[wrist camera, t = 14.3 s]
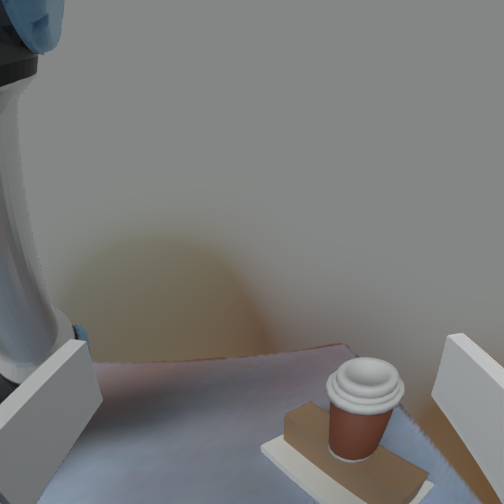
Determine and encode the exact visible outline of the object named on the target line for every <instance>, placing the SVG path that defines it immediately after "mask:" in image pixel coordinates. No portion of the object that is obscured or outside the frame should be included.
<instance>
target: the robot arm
mask: <svg viewBox="0 0 504 504" xmlns="http://www.w3.org/2000/svg"><path fill="white" fill-rule="evenodd" d="M63 11H64V0H0V502H1V504H37V502H38V500H39V499H40V497H41V496H42V494H43V492H44V491H45V489H46V487H47V486H48V484H49V483H50V481H51V479H52V478H53V476H54V475H55V473H56V472H57V470H58V468H59V467H60V465H61V464H62V462H63V461H64V459H65V457H66V456H67V454H68V453H69V451H70V450H71V448H72V447H73V445H74V443H75V442H76V440H77V439H78V437H79V436H80V434H81V433H82V431H83V430H84V428H85V427H86V425H87V424H88V422H89V421H90V419H91V418H92V416H93V415H94V413H95V412H96V410H97V409H98V407H99V406H100V404H101V403H102V401H103V398H102V395H101V392H100V389H99V385H98V382H97V379H96V375H95V372H94V368H93V365H92V361H91V354H90V348H89V341H88V335H87V331H86V329H85V328H84V327H83V326H77V325H71V323H70V321H69V320H68V318H67V317H66V316H65V315H64V314H63V313H62V312H61V311H60V310H58V309H56V308H55V307H53V306H52V303H51V300H50V297H49V294H48V290H47V287H46V284H45V280H44V277H43V273H42V270H41V266H40V262H39V258H38V254H37V250H36V246H35V242H34V237H33V233H32V228H31V223H30V218H29V213H28V207H27V201H26V195H25V189H24V182H23V174H22V166H21V156H20V144H19V129H18V100H19V98H20V97H21V95H22V94H23V93H24V91H25V90H26V89H27V88H28V86H29V85H30V84H31V83H32V82H33V80H34V79H35V78H36V75H37V63H38V54H41V55H44V53H45V52H49V51H51V50H53V49H54V48H55V47H56V46H57V44H58V42H59V39H60V35H61V25H62V18H63ZM431 396H432V397H433V399H434V400H435V401H436V403H437V404H438V406H439V407H440V408H441V410H442V411H443V413H444V414H445V415H446V417H447V418H448V420H449V421H450V423H451V424H452V426H453V427H454V429H455V430H456V432H457V433H458V435H459V436H460V438H461V439H462V440H463V442H464V443H465V445H466V447H467V448H468V450H469V451H470V453H471V454H472V456H473V457H474V459H475V460H476V462H477V463H478V465H479V466H480V468H481V470H482V471H483V472H484V474H485V476H486V477H487V479H488V481H489V482H490V484H491V486H492V487H493V489H494V490H495V492H496V494H497V495H498V497H499V499H500V500H501V502H502V504H504V368H503V367H502V366H500V365H499V364H498V363H497V362H496V361H494V359H492V358H491V357H490V356H489V355H488V354H487V353H486V352H484V351H483V350H482V349H481V348H480V347H479V346H477V345H476V344H475V343H474V342H473V341H472V340H471V339H469V338H468V337H467V336H466V335H464V334H463V333H459V334H453V335H447V339H446V343H445V347H444V351H443V355H442V359H441V363H440V367H439V370H438V374H437V377H436V381H435V384H434V387H433V391H432V394H431Z"/></svg>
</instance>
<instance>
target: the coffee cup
mask: <svg viewBox="0 0 504 504" xmlns="http://www.w3.org/2000/svg"><path fill="white" fill-rule="evenodd" d="M325 390H326V393H327V397H328V399H329V400H330V425H329V443H328V448H329V452H330V453H331V454H332V456H333V457H334V458H336V459H338V460H340V461H342V462H345V463H360V462H364V461H366V460H368V459H369V458H371V457H372V456H373V454H374V453H375V452H376V449H377V447H378V445H379V442H380V440H381V438H382V436H383V433H384V431H385V429H386V426H387V424H388V421H389V419H390V416H391V414H392V411H393V409H394V408H395V407H397V406H398V404H399V403H400V402H401V400H402V399H403V397H404V383H403V381H402V380H401V379H400V377H399V373H398V371H397V370H396V368H395V367H394V366H393V365H391V364H390V363H388V362H387V361H383V360H381V359H377V358H370V357H361V358H354V359H351V360H348V361H345V362H344V363H343V364H342V365H340V366H339V368H338V370H336V371H335V372H334V373H333V374H331V375H330V376H329V378H328V381H327V383H326V388H325Z"/></svg>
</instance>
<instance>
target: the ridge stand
mask: <svg viewBox="0 0 504 504" xmlns="http://www.w3.org/2000/svg"><path fill="white" fill-rule="evenodd" d="M329 425H330V414H329V413H327V412H326V411H324V410H323V409H321V408H320V407H318V406H317V405H315V404H314V403H312V402H311V401H310V402H309V403H307V404H305V405H303V406H301V407H299V408H297V409H295V410H293V411H291V412H289V413H287V414H285V421H284V434H283V435H281V436H279V437H277V438H275V439H273V440H271V441H268V442H266V443H264V444H262V445H261V452H262V453H263V454H264V455H265V456H267V457H268V458H269V459H270V460H271V461H272V462H273V463H274V464H275V465H276V466H277V467H278V468H279V469H280V470H282V471H283V472H284V473H285V474H286V475H287V476H288V477H289V478H290V479H292V480H293V481H294V482H295V483H296V484H297V485H298V486H300V487H301V488H302V489H303V490H304V491H305V492H307V493H308V494H309V495H310V496H311V497H312V498H314V499H315V500H316V501H317V502H319V503H320V504H419V503H420V502H421V501H422V500H423V499H424V498H425V497H426V496H427V494H428V493H429V492H430V491H431V490H432V488H433V486H434V485H435V484H433V483H431V482H429V481H427V480H426V478H427V476H428V475H429V473H428V472H426V471H424V470H422V469H421V468H419V467H417V466H415V465H413V464H411V463H410V462H408V461H406V460H404V459H402V458H401V457H399V456H397V455H395V454H394V453H392V452H390V451H388V450H387V449H385V448H383V447H382V446H380V445H378V447H377V449H376V452H375V453H374V454H373V456H372V457H371V458H369V459H368V460H366V461H364V462H360V463H345V462H342V461H340V460H338V459H336V458H334V457H333V456H332V454H331V453H330V452H329V448H328V443H329Z"/></svg>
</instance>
